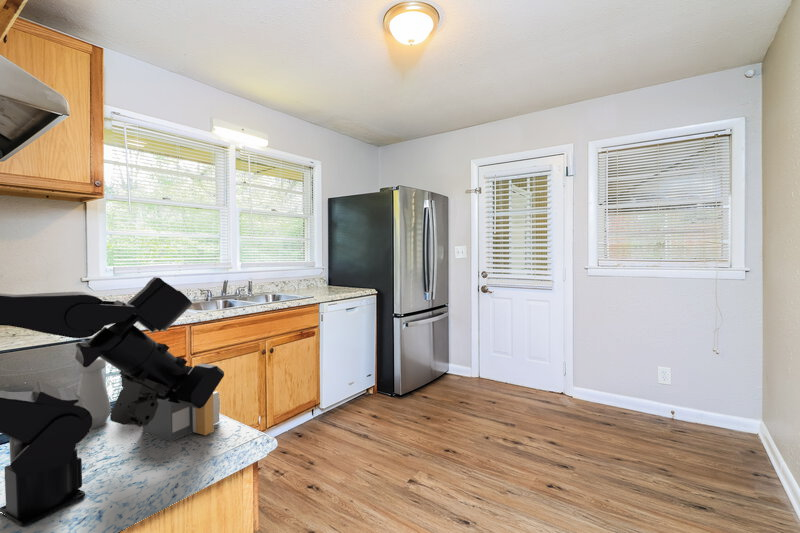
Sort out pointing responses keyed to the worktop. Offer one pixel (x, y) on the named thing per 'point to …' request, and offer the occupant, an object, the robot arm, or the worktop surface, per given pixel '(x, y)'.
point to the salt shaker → (94, 391)
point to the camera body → (170, 421)
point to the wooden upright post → (206, 415)
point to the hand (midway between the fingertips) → (204, 402)
